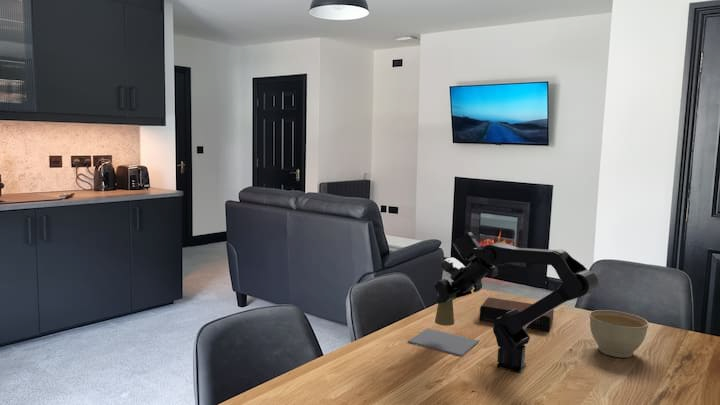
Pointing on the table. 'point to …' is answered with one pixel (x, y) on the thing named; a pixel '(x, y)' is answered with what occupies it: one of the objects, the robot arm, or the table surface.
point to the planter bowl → (617, 332)
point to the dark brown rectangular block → (499, 307)
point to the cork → (445, 313)
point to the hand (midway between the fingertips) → (442, 300)
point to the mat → (444, 342)
